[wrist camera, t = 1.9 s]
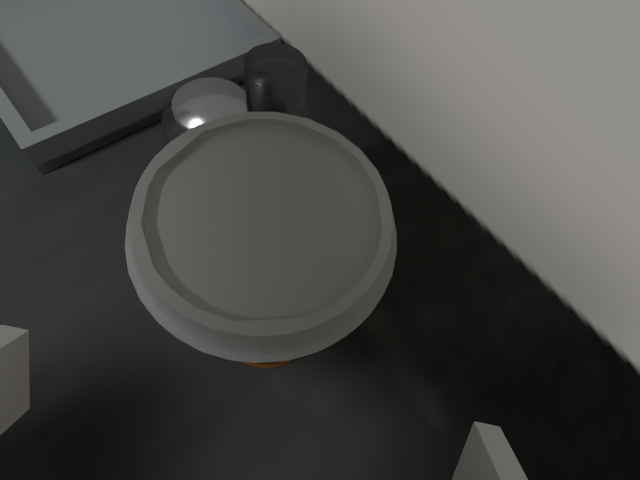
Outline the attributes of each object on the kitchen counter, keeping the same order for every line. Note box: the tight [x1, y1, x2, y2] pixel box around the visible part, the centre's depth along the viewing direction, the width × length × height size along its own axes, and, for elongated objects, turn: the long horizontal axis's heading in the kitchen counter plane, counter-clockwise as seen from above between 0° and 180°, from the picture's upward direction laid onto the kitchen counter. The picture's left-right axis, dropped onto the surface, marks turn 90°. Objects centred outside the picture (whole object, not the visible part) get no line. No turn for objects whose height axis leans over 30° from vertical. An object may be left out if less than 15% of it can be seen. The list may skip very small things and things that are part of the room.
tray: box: [0, 0, 281, 174], centre depth 32 cm, size 20×20×2 cm
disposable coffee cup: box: [125, 112, 397, 368], centre depth 18 cm, size 10×10×12 cm
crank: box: [171, 43, 308, 134], centre depth 22 cm, size 12×5×9 cm, turn 40°
